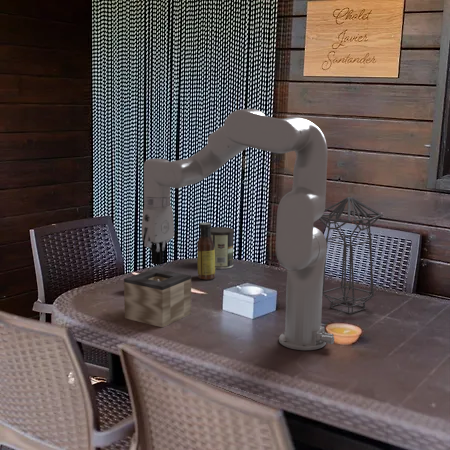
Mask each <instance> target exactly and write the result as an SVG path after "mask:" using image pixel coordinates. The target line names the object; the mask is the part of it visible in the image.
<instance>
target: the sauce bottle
mask: <svg viewBox="0 0 450 450" xmlns="http://www.w3.org/2000/svg"><path fill="white" fill-rule="evenodd" d="M198 227H199V238H198V240H197V242H196V247H197V248H196V249H197V250H196V253H197V254H196V255H197V256H196V257H197V258H196V259H197V261H196V262H197V275H198V276H197V277H198V279H200V280H204V281H205V280H206V281H208V280H213V279H215V278H216V277H215V276H216V269H215V247H214V243H213V240H212V237H211V231H210V228H212V223H211V222H206V221H205V222H200V223H199V226H198Z"/></svg>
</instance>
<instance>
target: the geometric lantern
mask: <svg viewBox="0 0 450 450" xmlns="http://www.w3.org/2000/svg"><path fill="white" fill-rule="evenodd" d="M346 205H347V209H345V208H346ZM334 207H335V208H334ZM351 207H352V209H351ZM333 208H334V209H333ZM364 208H365V209H367V210H369V212H372V213H369V212H367V211H366V210H365V209H364ZM331 209H333V210H332V211H331V212H330V213H329V214H328V213H326V212H327V211H329V210H331ZM345 211H347V219H340V217H341V216H342V215H343V212H345ZM351 215H352V216H353V218H354V219H352V220H351ZM371 216H373V217H371ZM383 216H384V215H383V213H380V212H379V211H377V210H375V209H374V208H372V207H371V206H368V205H367V204H365V203H363V202H362V201H360V200H358V199H356V198H354V197H353V196H352V197H349V196H348V197H345V198H344V199H341V200H340V201H338V202H337V203H334V204H333V205H331V206H328V207H327V208H325V211H324V214H323V215H322V216H321V218H319V219H318V220H320V222H321V223H322V224H323V225H324V226H325V227H326V228H327V233H326V236H325V239H326V243H327V245H328V243H332V244H338V245H343V251H342V263H341V264H342V266H341V267H342V268H341V280H340V286H337V287H334V288H331V289H327V290H325V283H326V281H325V278H326V266H327V265H326V264H327V258H326V259H325V265H324V275H323V292H322V297H325V298H326V299H327V301H329V302H330V303H329V304H330V306H329V307H330V308H331V309H333V310H335V311H336V310H337V311H340V312H341V313H342V312H343V313H346V314H350V315H351V314H355V313H358V312H360V311H363V310H366V309H367V308H366V303H367V302H369V301H370V300H371V299H373V298H374V297H375V289H374V273H373V254H372V253H373V249H372V248H373V247H372V246H373V245H372V243H373V242H372V241H373V239H372V234H371V226H372V225H374V224H375V223H376V222H377V221H378V220H379V219H380V218H381V217H383ZM333 217H335V219H334V218H333ZM364 221H365V222H364ZM366 221H367V222H366ZM339 222H340V223H341V224H340V225H339ZM349 222H350V223H351V222H352V223H353V224H355V228H354V230H352V232H351V233H350V235H346V234H345V232H344V230H343V229H342V228H341V227H343V226H345V225H346V224H348V223H349ZM357 222H358V223H357ZM331 224H334V227H331ZM360 224H362V225H361V226H360ZM364 225H365V226H364ZM357 229H359V230H358V232H357V233H356V235H354V234H355V232H356V231H357ZM331 230H337V233H338V236H334V237H329V235H330V232H331ZM365 230H366V231H367V236H368V238H367V237H361V236H359V234H360V232H361V231H365ZM341 232H342V233H341ZM338 238H339V239H340V238H341V239H342V242H343V243H342V242H341V243H340V242H336V241H334V239H338ZM346 238H349V243H347V242H346V240H347V239H346ZM352 238H353V240H352ZM356 238H357V239H362V240H367V241H364V242H358V243H354V242H355V240H356ZM332 240H333V241H332ZM353 243H354V244H353ZM364 244H368V247H369V248H368V249H369V263H370V264H369V265H370V271H369V272H370V291H369V290H365V289H361V288H357V287H355V280H354V276H355V275H354V251H353V250H354V248H353V247H354V246H358V245H364ZM347 247H349V272H348V276H349V279H348V280H349V281H348V283H349V284H348V285H349V286H348V285H347ZM327 252H328V251H327ZM327 252H326V256H328V255H327V254H328V253H327ZM346 285H347V286H346ZM339 289H341V292H342V296H339V297H335V296H331V295H328V294H326V293H328V292H332V291H335V290H339ZM347 289H348V291H346V290H347ZM355 290H356V291H359V292H364V293H367V294H368V295H367V296H363V297H360V298H356V297H355ZM350 291H352V292H351V293H352V296H351V297H350V296H349V294H350ZM346 292H347V294H346ZM331 299H332V300H331ZM348 299H351V300H348ZM335 301H339V302H335ZM358 301H361V302H359V303H356V302H358ZM349 305H350V306H349ZM336 306H343V307H345V308H347V311H345V310H342V309H339V308H336ZM354 307H360V309H357V310H355V311H354ZM350 308H351V312H350Z"/></svg>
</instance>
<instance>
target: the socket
mask: <svg viewBox="0 0 450 450" xmlns="http://www.w3.org/2000/svg"><path fill="white" fill-rule="evenodd" d="M157 279H159V281H157ZM123 293H124V302H123V303H124V319H127V320H131V321H135V322H139V323H143V324H147V325H150V326H151V325H152V326H155V327H160V328H164V327H166V326H168V325H169V326H170V325H171V324H173V323H176V322H177V321H180V320H182V319H183V318H185V317H187V316H190V315H192V275H190V274H185V273H180V272H174V271H170V270H165V269H164V270H163V269H158V268H151V269H149V270H146V271H143V272H139V273H137V274H134V276H133V275H131V276H127V277H125V278H123Z"/></svg>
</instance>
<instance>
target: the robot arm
mask: <svg viewBox="0 0 450 450" xmlns="http://www.w3.org/2000/svg"><path fill="white" fill-rule="evenodd" d="M247 148H253V149H256V150H261V151H265V152H268V153H272V154H273V153H275V154H288V153H291V152H292V153H293V152H294V153H295V162H294V165H293V172H292V174H293V175H292V176H293V177H292V187H291V188H292V189H291V191H288V192H287V193H286V194H285V195H283V196H282V198H281V199H280V201H279V203H278V206H277V211H276V227H275V228H276V231H275V255H276V258H277V260H278V262H279V264H280V265H281V267H283V268H284V269H286V270H287V272H286V273H287V274H286V276H287V277H286V290H285V291H286V293H285V294H286V296H285V319H284V321H285V323H284V324H285V325H284V332H282V333H280V335H279V337H278V340H279V341H278V342H279V343H280V345H282V346H284V347H286V348H288V349H292V350H297V351H316V350H319V349H321V348H324V347H325V346H326V345H327V344H330V345H333V344H334V342H335V337H334V333H328V332H326V331H325V326H323V325H322V314H323V313H322V309H323V295H322V292H323V275H324V265H325V259H326V260H327V255H326V252H328V244H327V243H326V236H325V235H324V233H323V231H321V230H320V229H318V228H317V227H315V226H314V223H316V221H318V220H319V218H321V216H322V215H323V214H325V212H326V211H325V209H326V201H327V200H326V199H327V195H326V194H327V180H328V179H327V175H328V174H327V171H328V158H329V157H328V153H329V152H328V151H329V150H328V144H327V140H326V136H325V135H324V133H323V132H322V130H321V128H319V126H317V125H316V124H315V123H313V122H312V121H310V120H308V119H306V118H302V117H299V116H295V117H294V116H293V117H287V118H278V117H272V116H267V115H266V114H265V113H264V112H262V111H260V110H259V109H256V108H242V109H236V110H234V111H232V112H231V113H230V114H228V116H227V117H226V119H225V121H224V124H223V125H222V126H221V127H219V128H217V129H216V130H215V131H213V132H212V133H210V134H209V135H208V137H207V144H206V145H205V146H204V147H202V149H201V150H199V151H197V152H196V153H194V154H193V155H192V156H190V157H187V158H184V159H183V158H182V159H178V160H174V161H169V160H168V159H165V158H148V159H146V160H145V161H144V164H143V202H144V203H143V204H144V205H143V206H144V207H143V212H142V221H141V239H142V241H143V242H144V245H143V246H144V247H145V248H149V251H151V253H150V254H151V256H150V257H151V264H152V265H157V266H160V265H164V251H165V250H166V245H167V243H169V242H170V240H172V239H174V236H175V223H174V219H175V218H174V212H173V207H172V204H171V189H181V188H184V187H188V186H191V185H195V184H197V183H200V182H201V181H203V180H205V179H206V178H207V177H208V176H210V175H212V174H213V173H215V172H216V171H218V170H219V169H220V168H221V167H223V166H224V165H225V164H226V163H227V162H229V160H231V159H233V158H234V157H236V156H237V155H238V154H240V153H242V152H243V151H245V150H246V149H247ZM324 211H325V212H324Z"/></svg>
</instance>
